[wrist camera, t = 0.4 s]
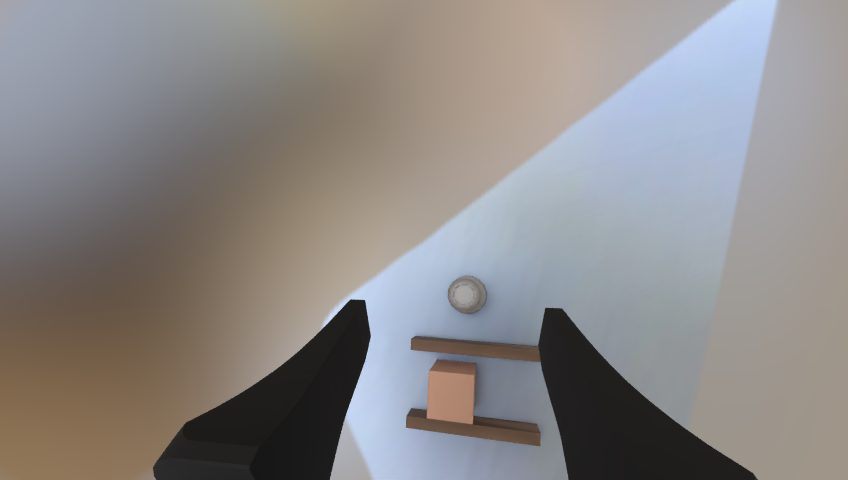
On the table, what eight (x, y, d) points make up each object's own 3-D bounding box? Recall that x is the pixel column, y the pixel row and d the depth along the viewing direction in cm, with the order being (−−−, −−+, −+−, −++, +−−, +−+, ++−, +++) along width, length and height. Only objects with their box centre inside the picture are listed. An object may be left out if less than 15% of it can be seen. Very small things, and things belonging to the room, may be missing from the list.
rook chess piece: (491, 281, 40) (492, 279, 32) (481, 318, 39) (480, 324, 32) (454, 271, 41) (447, 266, 33) (444, 307, 40) (435, 310, 33)
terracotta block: (474, 404, 38) (472, 424, 32) (435, 399, 39) (426, 418, 33) (476, 363, 39) (474, 375, 33) (437, 359, 40) (429, 370, 34)
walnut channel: (536, 436, 36) (540, 446, 34) (410, 419, 39) (405, 427, 37) (537, 346, 38) (540, 350, 35) (415, 336, 40) (411, 338, 38)
